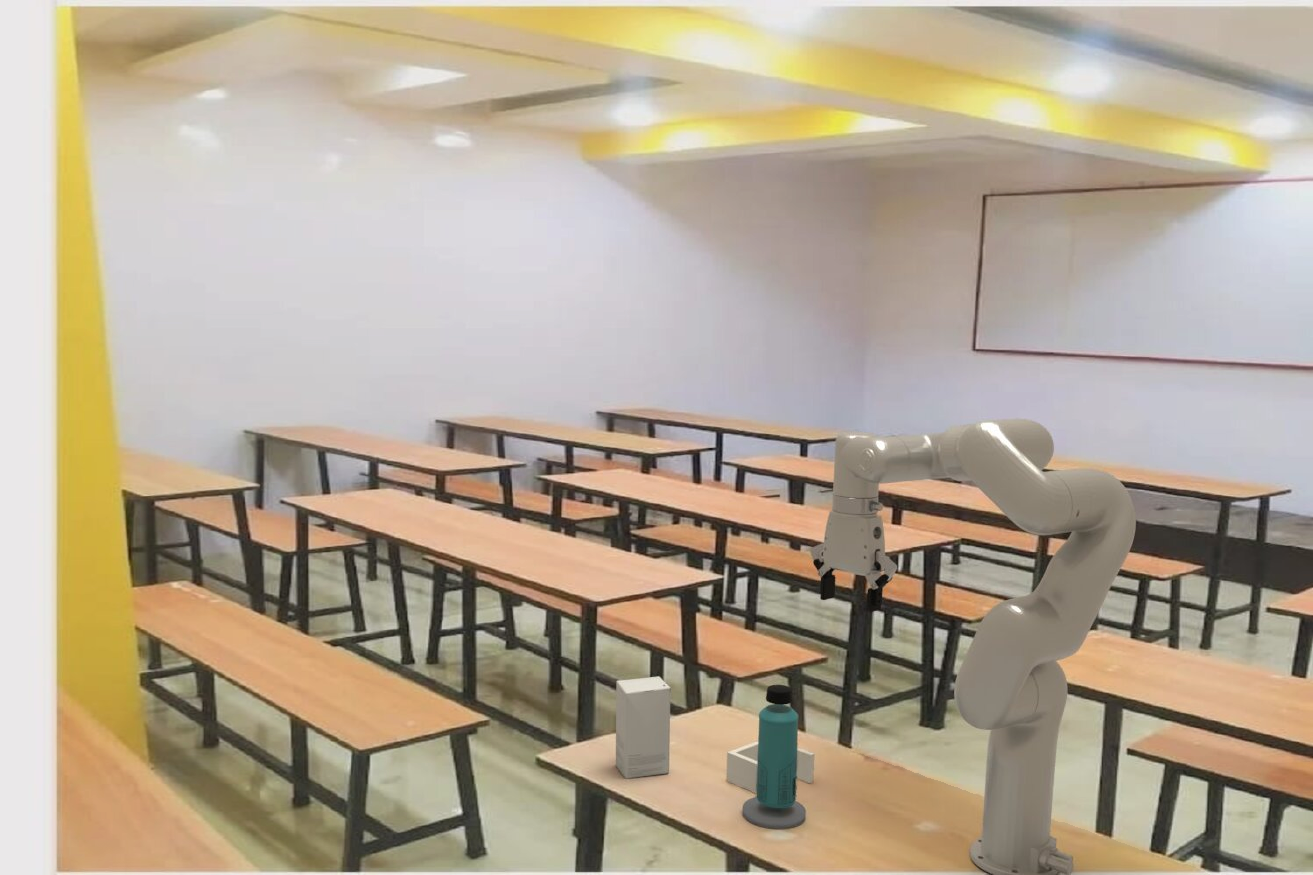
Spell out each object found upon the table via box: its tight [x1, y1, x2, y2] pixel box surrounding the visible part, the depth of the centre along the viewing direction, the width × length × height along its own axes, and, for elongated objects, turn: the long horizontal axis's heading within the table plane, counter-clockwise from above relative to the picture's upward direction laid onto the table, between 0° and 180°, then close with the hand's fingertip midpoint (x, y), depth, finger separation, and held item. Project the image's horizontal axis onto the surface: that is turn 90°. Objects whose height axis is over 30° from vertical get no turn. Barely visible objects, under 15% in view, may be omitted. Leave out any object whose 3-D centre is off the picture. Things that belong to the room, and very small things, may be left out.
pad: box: [742, 796, 807, 830], centre depth 185 cm, size 10×10×1 cm
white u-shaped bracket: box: [725, 740, 815, 794], centre depth 198 cm, size 10×11×5 cm
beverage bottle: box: [755, 684, 800, 808], centre depth 184 cm, size 6×7×20 cm
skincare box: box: [615, 675, 672, 780], centre depth 201 cm, size 8×7×16 cm
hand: (850, 604), depth 198 cm, fingers open, 9 cm apart
